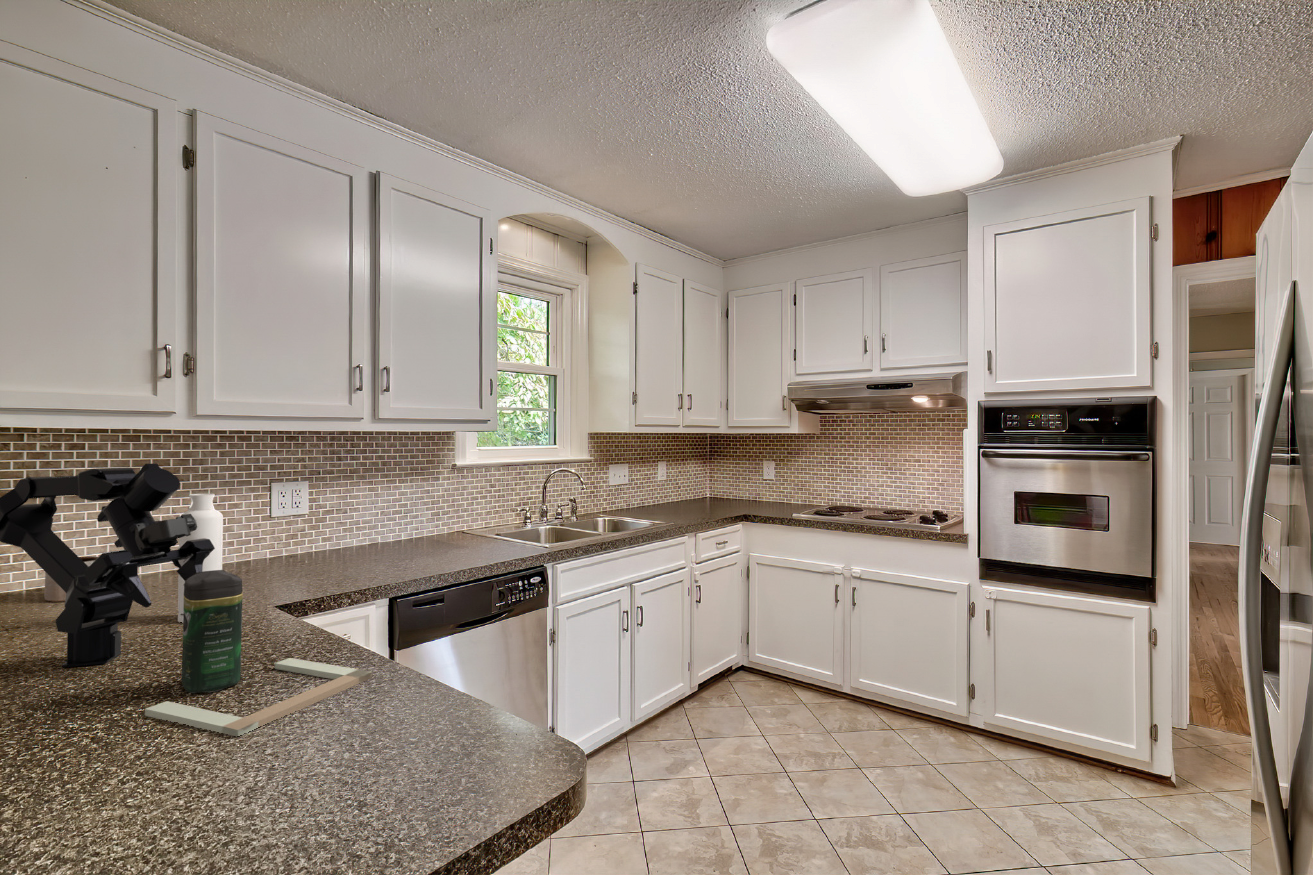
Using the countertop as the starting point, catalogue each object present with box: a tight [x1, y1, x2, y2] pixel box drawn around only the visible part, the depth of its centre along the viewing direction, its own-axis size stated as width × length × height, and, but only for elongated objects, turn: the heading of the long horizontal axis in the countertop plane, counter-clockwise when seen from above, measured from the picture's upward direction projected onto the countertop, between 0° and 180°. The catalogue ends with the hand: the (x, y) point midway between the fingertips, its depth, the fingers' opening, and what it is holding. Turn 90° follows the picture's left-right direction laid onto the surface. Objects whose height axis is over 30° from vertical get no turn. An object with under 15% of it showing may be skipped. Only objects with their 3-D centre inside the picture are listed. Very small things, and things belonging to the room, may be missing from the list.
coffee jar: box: [181, 569, 244, 694], centre depth 106 cm, size 10×8×19 cm
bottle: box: [177, 493, 224, 624], centre depth 145 cm, size 8×8×28 cm
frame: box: [144, 657, 373, 737], centre depth 102 cm, size 19×24×1 cm
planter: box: [43, 556, 99, 603], centre depth 163 cm, size 11×11×10 cm
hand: (176, 599), depth 112 cm, fingers open, 9 cm apart
